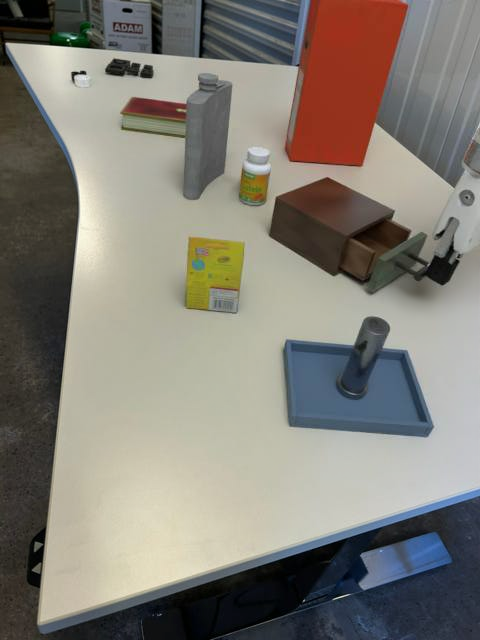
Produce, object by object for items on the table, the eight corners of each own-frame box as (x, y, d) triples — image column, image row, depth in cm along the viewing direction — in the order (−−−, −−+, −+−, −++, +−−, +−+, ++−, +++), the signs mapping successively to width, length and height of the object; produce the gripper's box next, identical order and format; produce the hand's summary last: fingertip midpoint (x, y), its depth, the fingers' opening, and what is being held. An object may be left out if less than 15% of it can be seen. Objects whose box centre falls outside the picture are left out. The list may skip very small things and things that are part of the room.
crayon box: (238, 300, 70) (247, 231, 62) (237, 314, 68) (247, 244, 60) (187, 295, 70) (190, 225, 62) (184, 308, 67) (188, 237, 60)
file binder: (284, 147, 115) (312, -13, 94) (353, 152, 118) (395, -2, 96) (289, 161, 109) (321, -6, 88) (362, 166, 112) (409, 5, 91)
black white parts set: (68, 88, 131) (67, 75, 129) (91, 60, 149) (90, 48, 146) (141, 100, 133) (141, 87, 130) (156, 70, 150) (156, 58, 148)
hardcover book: (132, 112, 121) (131, 94, 118) (215, 123, 122) (216, 106, 119) (121, 129, 112) (120, 110, 109) (210, 141, 113) (211, 123, 110)
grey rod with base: (375, 386, 59) (404, 324, 53) (351, 408, 56) (378, 345, 50) (350, 369, 61) (375, 306, 54) (326, 388, 58) (348, 325, 51)
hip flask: (195, 201, 91) (201, 89, 77) (176, 195, 91) (178, 83, 78) (226, 170, 102) (236, 68, 89) (209, 165, 103) (216, 63, 90)
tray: (402, 360, 64) (407, 350, 63) (427, 437, 55) (434, 426, 54) (283, 349, 63) (285, 339, 62) (289, 426, 54) (292, 415, 53)
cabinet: (381, 248, 85) (395, 210, 80) (334, 276, 77) (346, 236, 72) (318, 213, 92) (327, 176, 87) (268, 235, 84) (275, 196, 79)
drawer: (440, 277, 79) (454, 248, 75) (399, 308, 71) (413, 277, 67) (351, 228, 88) (359, 200, 84) (306, 251, 80) (313, 221, 76)
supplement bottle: (236, 203, 92) (242, 154, 85) (240, 191, 96) (246, 143, 89) (264, 208, 91) (271, 159, 85) (267, 195, 96) (275, 148, 89)
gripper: (502, 186, 53) (434, 311, 65) (546, 161, 62) (480, 275, 74) (442, 160, 57) (388, 283, 69) (492, 140, 66) (437, 252, 78)
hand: (436, 279), depth 71 cm, fingers closed
